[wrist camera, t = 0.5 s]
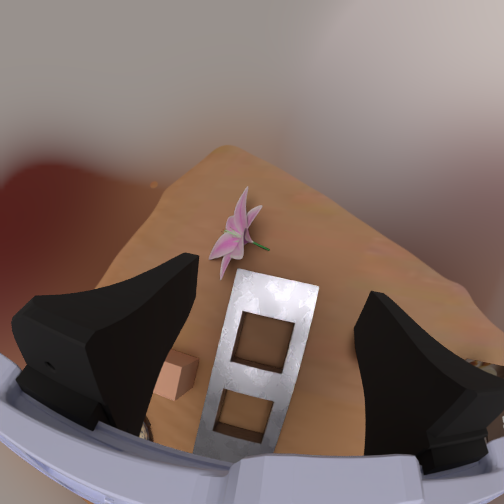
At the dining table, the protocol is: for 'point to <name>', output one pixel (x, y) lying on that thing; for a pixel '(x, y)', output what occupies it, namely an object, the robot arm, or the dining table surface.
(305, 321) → the grey slotted board
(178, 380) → the peg
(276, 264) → the dining table surface
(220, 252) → the lily
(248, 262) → the dining table surface
